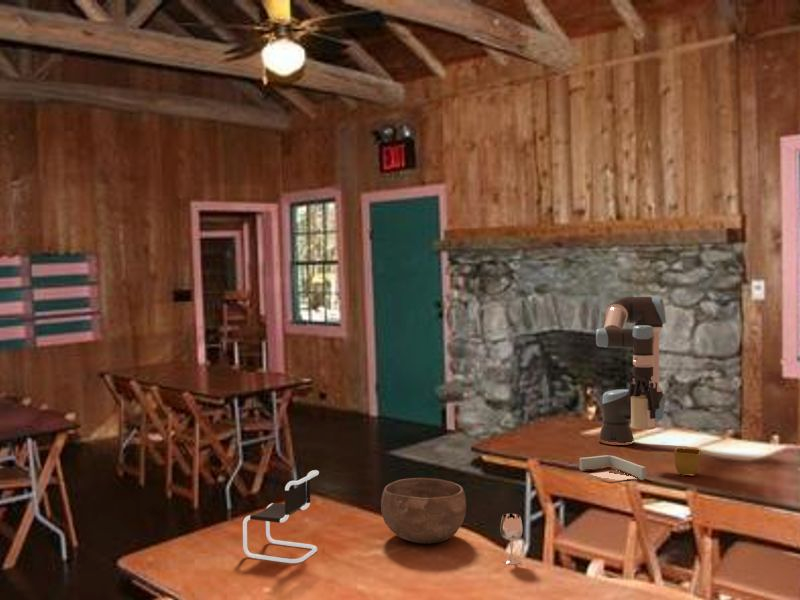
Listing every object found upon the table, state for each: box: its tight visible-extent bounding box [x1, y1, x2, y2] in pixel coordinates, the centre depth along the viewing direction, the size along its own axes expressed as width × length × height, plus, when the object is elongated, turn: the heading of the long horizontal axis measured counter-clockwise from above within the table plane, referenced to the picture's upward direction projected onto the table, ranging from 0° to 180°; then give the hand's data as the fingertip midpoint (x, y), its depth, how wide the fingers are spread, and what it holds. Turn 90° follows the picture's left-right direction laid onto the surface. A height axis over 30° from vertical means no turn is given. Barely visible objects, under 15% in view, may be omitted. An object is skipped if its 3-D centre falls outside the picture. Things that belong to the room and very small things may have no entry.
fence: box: [578, 454, 647, 481], centre depth 297 cm, size 14×22×4 cm, turn 20°
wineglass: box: [499, 513, 523, 565], centre depth 208 cm, size 6×6×12 cm
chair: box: [242, 469, 320, 564], centre depth 217 cm, size 13×17×22 cm
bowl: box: [380, 477, 467, 544], centre depth 227 cm, size 24×24×15 cm
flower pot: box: [673, 447, 702, 475], centre depth 296 cm, size 9×9×9 cm
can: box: [630, 395, 657, 431], centre depth 304 cm, size 9×9×12 cm
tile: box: [588, 471, 637, 480], centre depth 293 cm, size 12×12×1 cm
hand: (643, 424), depth 304 cm, fingers closed on can, 9 cm apart
